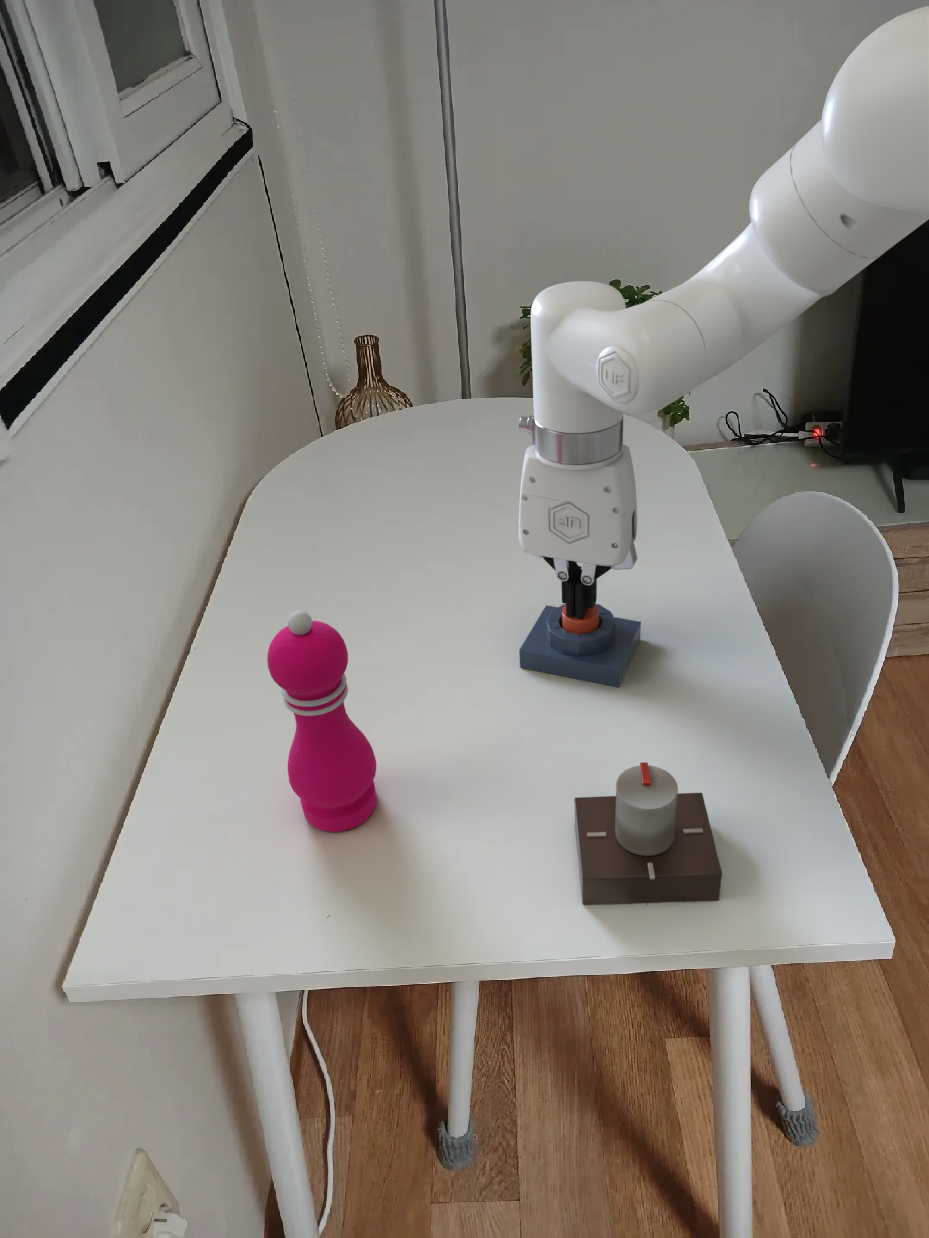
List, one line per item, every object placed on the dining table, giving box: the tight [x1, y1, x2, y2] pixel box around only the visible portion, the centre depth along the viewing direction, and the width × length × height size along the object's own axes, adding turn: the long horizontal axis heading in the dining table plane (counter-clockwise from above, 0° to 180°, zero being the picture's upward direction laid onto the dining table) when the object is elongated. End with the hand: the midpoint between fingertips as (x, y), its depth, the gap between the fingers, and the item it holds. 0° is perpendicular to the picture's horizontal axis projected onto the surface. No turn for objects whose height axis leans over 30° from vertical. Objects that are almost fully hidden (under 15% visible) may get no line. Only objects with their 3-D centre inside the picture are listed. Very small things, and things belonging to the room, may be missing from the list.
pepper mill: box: [266, 610, 378, 833], centre depth 75 cm, size 7×7×20 cm
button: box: [562, 605, 599, 634], centre depth 92 cm, size 4×4×2 cm
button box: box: [518, 603, 642, 688], centre depth 94 cm, size 10×8×4 cm
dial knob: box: [615, 761, 679, 856], centre depth 70 cm, size 4×4×5 cm
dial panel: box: [573, 792, 723, 906], centre depth 73 cm, size 10×9×3 cm
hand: (579, 609), depth 92 cm, fingers closed
